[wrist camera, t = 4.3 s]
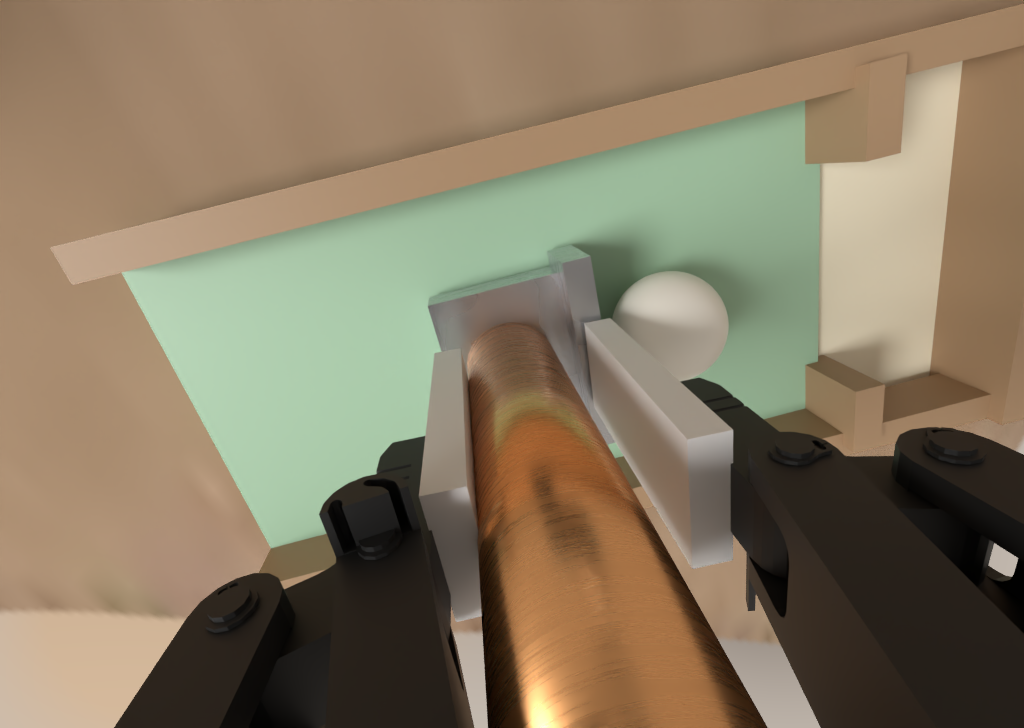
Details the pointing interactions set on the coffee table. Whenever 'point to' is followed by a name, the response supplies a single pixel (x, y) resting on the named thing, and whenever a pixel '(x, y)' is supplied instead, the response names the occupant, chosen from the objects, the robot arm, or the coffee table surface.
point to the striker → (570, 529)
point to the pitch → (622, 262)
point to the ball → (675, 321)
